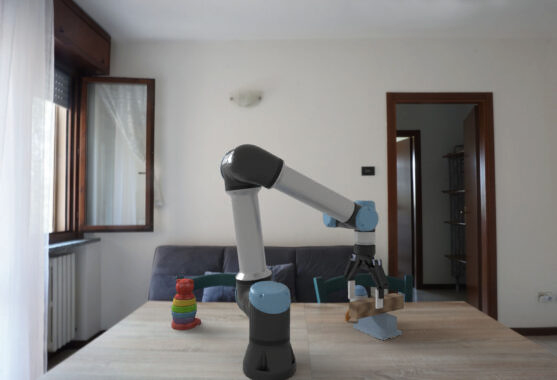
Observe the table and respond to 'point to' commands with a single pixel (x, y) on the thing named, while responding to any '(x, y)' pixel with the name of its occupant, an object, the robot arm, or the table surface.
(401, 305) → the walnut bar
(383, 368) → the table surface
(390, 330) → the slate ridge
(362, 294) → the toy rocket
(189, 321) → the stacking bear
